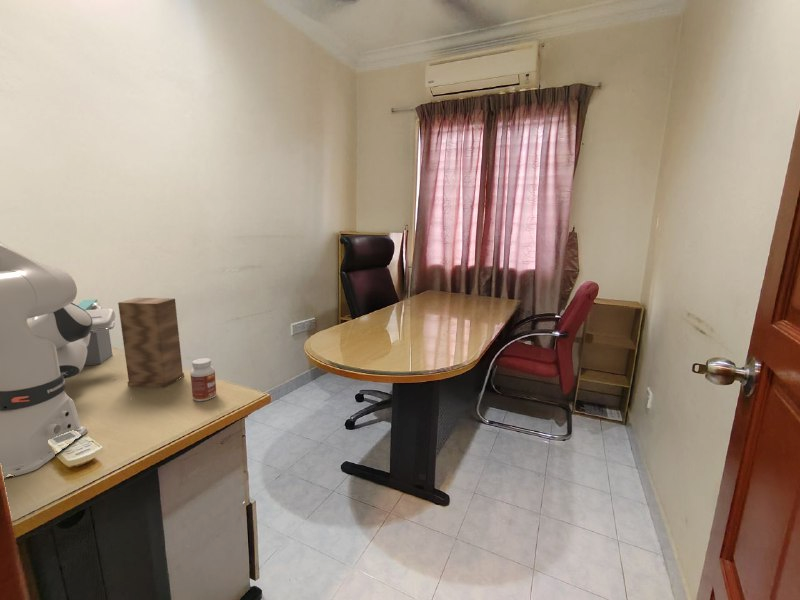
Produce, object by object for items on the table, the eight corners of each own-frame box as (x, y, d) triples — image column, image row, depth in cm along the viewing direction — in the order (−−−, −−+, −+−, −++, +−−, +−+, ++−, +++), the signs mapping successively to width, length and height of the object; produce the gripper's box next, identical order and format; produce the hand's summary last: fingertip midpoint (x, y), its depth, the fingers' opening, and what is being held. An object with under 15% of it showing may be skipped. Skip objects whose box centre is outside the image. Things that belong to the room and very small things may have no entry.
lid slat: (85, 314, 123) (84, 309, 123) (69, 315, 121) (68, 311, 121) (97, 303, 140) (97, 299, 140) (84, 304, 138) (83, 300, 138)
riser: (100, 364, 131) (95, 325, 128) (70, 366, 129) (63, 327, 126) (112, 355, 140) (107, 319, 137) (84, 357, 137) (78, 320, 134)
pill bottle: (212, 401, 105) (209, 364, 103) (189, 402, 104) (185, 365, 102) (219, 391, 111) (216, 356, 109) (197, 392, 110) (194, 357, 108)
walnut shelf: (127, 385, 114) (116, 302, 109) (149, 374, 123) (139, 297, 118) (165, 387, 113) (155, 304, 108) (184, 375, 122) (176, 298, 117)
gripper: (111, 323, 119) (115, 295, 128) (24, 330, 109) (35, 300, 118) (115, 337, 123) (118, 309, 131) (32, 345, 113) (41, 315, 122)
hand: (78, 305), depth 125 cm, fingers open, 8 cm apart
